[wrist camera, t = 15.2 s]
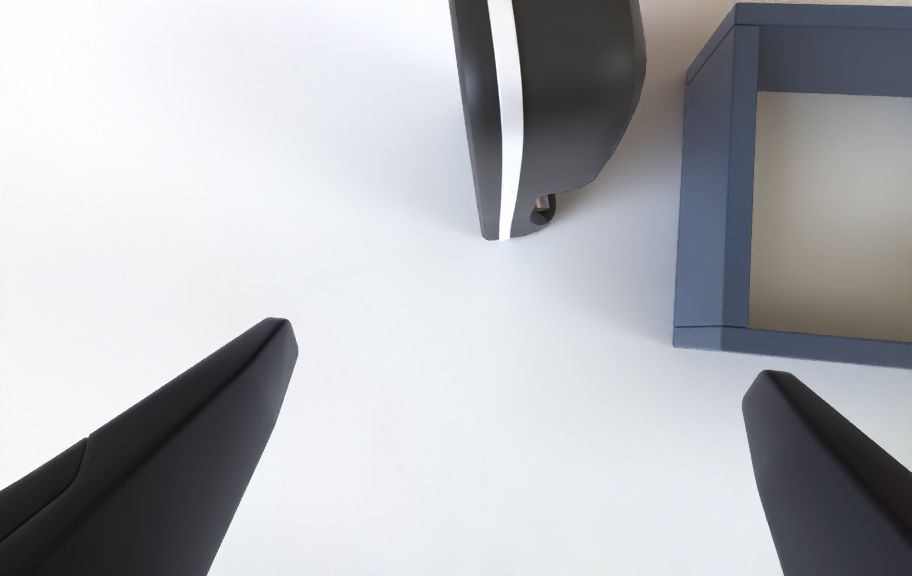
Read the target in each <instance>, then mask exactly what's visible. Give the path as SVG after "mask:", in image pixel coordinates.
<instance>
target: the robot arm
mask: <svg viewBox="0 0 912 576" xmlns="http://www.w3.org/2000/svg"><path fill="white" fill-rule="evenodd" d="M297 357H298V345H297V342H296V339H295V335H294V332H293V329H292V326H291V323H290V322H289V321H288V320H287V319H283V318H273V317H269V318H266V319H264V320H262V321H261V322H259V323H258V324H256V325H255V326H253V327H252V328H250V329H249V330H247V331H246V332H244V333H243V334H241V335H240V336H238V337H237V338H235V339H234V340H232V341H231V342H229V343H228V344H226V345H225V346H223V347H221V348H220V349H218V350H217V351H215V352H214V353H212V354H211V355H209V356H208V357H206V358H205V359H203V360H202V361H200V362H199V363H197V364H196V365H194V366H193V367H191V368H190V369H188V370H187V371H185V372H184V373H182V374H181V375H179V376H178V377H176V378H175V379H173V380H172V381H170V382H168V383H167V384H165V385H164V386H162V387H161V388H159V389H158V390H156V391H155V392H153V393H152V394H150V395H149V396H147V397H146V398H144V399H143V400H141V401H140V402H138V403H137V404H135V405H134V406H132V407H131V408H129V409H128V410H126V411H125V412H123V413H122V414H120V415H119V416H117V417H115V418H114V419H112V420H111V421H109V422H108V423H106V424H105V425H103V426H102V427H100V428H99V429H97V430H96V431H94V432H93V433H91V434H90V435H89V438H83V439H82V440H80V441H79V442H77V443H76V444H74V445H73V446H71V447H70V448H68V449H67V450H65V451H64V452H62V453H61V454H59V455H58V456H56V457H54V458H53V459H51V460H50V461H48V462H47V463H45V464H43V465H42V466H40V467H39V468H37V469H36V470H34V471H32V472H31V473H29V474H28V475H26V476H25V477H23V478H21V479H20V480H18V481H16V482H15V483H13V484H11V485H10V486H8V487H6V488H5V489H3V490H1V491H0V576H207V574H208V571H209V569H210V567H211V565H212V563H213V560H214V558H215V556H216V554H217V552H218V549H219V547H220V545H221V543H222V541H223V539H224V536H225V534H226V532H227V530H228V528H229V525H230V523H231V521H232V519H233V517H234V514H235V512H236V510H237V508H238V506H239V503H240V501H241V499H242V497H243V495H244V492H245V490H246V488H247V486H248V484H249V482H250V479H251V477H252V475H253V473H254V471H255V468H256V466H257V464H258V462H259V460H260V457H261V455H262V453H263V451H264V449H265V446H266V444H267V442H268V440H269V438H270V435H271V433H272V431H273V428H274V426H275V423H276V421H277V418H278V415H279V412H280V409H281V406H282V403H283V400H284V397H285V394H286V391H287V388H288V385H289V382H290V379H291V376H292V373H293V369H294V366H295V363H296V360H297ZM742 411H743V416H744V421H745V427H746V432H747V437H748V443H749V448H750V453H751V459H752V464H753V469H754V475H755V479H756V484H757V488H758V492H759V495H760V499H761V502H762V505H763V509H764V512H765V515H766V518H767V522H768V525H769V528H770V531H771V535H772V538H773V541H774V544H775V548H776V551H777V554H778V557H779V561H780V564H781V567H782V570H783V573H784V576H912V473H911V472H910V471H909V470H908V469H907V468H905V467H904V466H903V465H902V464H901V463H899V462H898V461H897V460H896V459H895V458H893V457H892V456H891V455H890V454H888V453H887V452H886V451H885V450H884V449H882V448H881V447H880V446H879V445H878V444H876V443H875V442H874V441H873V440H871V439H870V438H869V437H868V436H867V435H865V434H864V433H863V432H862V431H861V430H859V429H858V428H857V427H856V426H854V425H853V424H852V423H851V422H850V421H848V420H847V419H846V418H845V417H844V416H842V415H841V414H840V413H839V412H838V411H836V410H835V409H834V408H833V407H831V406H830V405H829V404H828V403H827V402H825V401H824V400H823V399H822V398H821V397H819V396H818V395H817V394H816V393H814V392H813V391H812V390H811V389H810V388H808V387H807V386H806V385H805V384H804V383H802V382H801V381H800V380H799V379H797V378H796V377H795V376H794V375H792V374H791V373H788V372H784V371H775V370H764V371H762V372H760V373H759V375H758V376H757V378H756V379H755V381H754V382H753V384H752V385H751V387H750V388H749V389H748V391H747V392H746V394H745V395H744V398H743V401H742Z"/></svg>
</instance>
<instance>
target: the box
mask: <svg viewBox="0 0 912 576" xmlns="http://www.w3.org/2000/svg"><path fill="white" fill-rule="evenodd" d="M686 87H687V88H686V94H685V114H684V133H683V152H682V171H681V190H680V209H679V228H678V247H677V266H676V285H675V304H674V323H673V325H674V327H675V328H674V329H673V347H676V348H687V349H697V350H708V351H718V352H729V353H739V354H750V355H760V356H771V357H781V358H792V359H802V360H812V361H823V362H833V363H844V364H854V365H865V366H875V367H886V368H896V369H907V370H912V343H910V342H899V341H888V340H877V339H866V338H855V337H843V336H832V335H821V334H810V333H799V332H788V331H777V330H766V329H755V328H746V327H748V315H749V288H750V262H751V235H752V209H753V182H754V156H755V129H756V103H757V91H782V92H806V93H831V94H855V95H879V96H904V97H912V7H909V6H865V5H822V4H778V3H736V4H735V5H734V6H733V8H732V9H731V11H730V12H729V13H728V15H727V16H726V17H725V19H724V20H723V22H722V23H721V24H720V26H719V27H718V28H717V30H716V31H715V33H714V34H713V35H712V37H711V38H710V40H709V41H708V42H707V44H706V45H705V46H704V48H703V49H702V51H701V52H700V53H699V55H698V56H697V57H696V59H695V60H694V62H693V63H692V64H691V66H690V67H689V68H688V70H687V78H686Z"/></svg>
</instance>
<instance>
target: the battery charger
mask: <svg viewBox="0 0 912 576" xmlns="http://www.w3.org/2000/svg"><path fill="white" fill-rule="evenodd" d="M449 7H450V15H451V22H452V30H453V37H454V45H455V52H456V60H457V67H458V75H459V82H460V89H461V97H462V104H463V111H464V118H465V125H466V132H467V139H468V146H469V153H470V159H471V166H472V173H473V180H474V186H475V193H476V199H477V206H478V213H479V219H480V226H481V232H482V236H483V237H484V238H485V239H487V240H499V241H507V240H509V238H513V237H520V236H525V235H528V234H531V233H534V232H537V231H538V230H540V229H542V228H543V227H545V226H547V225H548V224H549V223H550V221H551V220H552V218H553V216H554V214H555V209H556V201H555V193H561V192H566V191H570V190H574V189H578V188H581V187H583V186H585V185H586V184H588V183H590V182H592V181H593V180H594V179H595V178H596V177H597V175H598V174H599V172H600V170H601V169H602V167H603V166H604V165H605V163H606V162H607V161H608V160H609V158H610V157H611V156H612V154H613V153H614V151H615V149H616V147H617V146H618V144H619V142H620V140H621V138H622V136H623V134H624V133H625V131H626V129H627V127H628V125H629V123H630V120H631V118H632V116H633V114H634V112H635V109H636V107H637V104H638V102H639V99H640V95H641V91H642V87H643V83H644V78H645V74H646V61H647V60H646V43H645V36H644V29H643V23H642V18H641V12H640V6H639V0H449Z"/></svg>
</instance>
